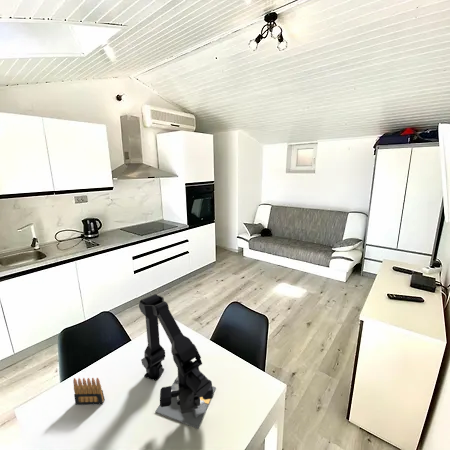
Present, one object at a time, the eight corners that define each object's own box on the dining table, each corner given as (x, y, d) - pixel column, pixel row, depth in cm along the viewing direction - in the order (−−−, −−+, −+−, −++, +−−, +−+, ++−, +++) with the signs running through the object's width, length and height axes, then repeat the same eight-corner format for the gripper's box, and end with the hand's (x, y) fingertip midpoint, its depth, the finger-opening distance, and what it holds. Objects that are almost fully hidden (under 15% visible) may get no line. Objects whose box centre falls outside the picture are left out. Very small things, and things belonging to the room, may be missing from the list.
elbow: (171, 388, 101) (171, 380, 100) (186, 379, 106) (186, 371, 104) (192, 420, 89) (191, 411, 88) (208, 408, 93) (207, 399, 92)
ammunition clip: (104, 400, 98) (100, 375, 95) (102, 404, 96) (98, 379, 93) (78, 400, 98) (73, 376, 95) (75, 404, 96) (70, 380, 93)
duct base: (155, 412, 93) (154, 406, 92) (178, 376, 108) (177, 371, 108) (198, 428, 87) (197, 422, 86) (215, 388, 103) (215, 382, 102)
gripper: (157, 402, 78) (160, 438, 82) (215, 392, 81) (215, 428, 85) (159, 373, 88) (162, 407, 92) (211, 365, 92) (211, 398, 96)
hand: (187, 410), depth 91 cm, fingers closed
